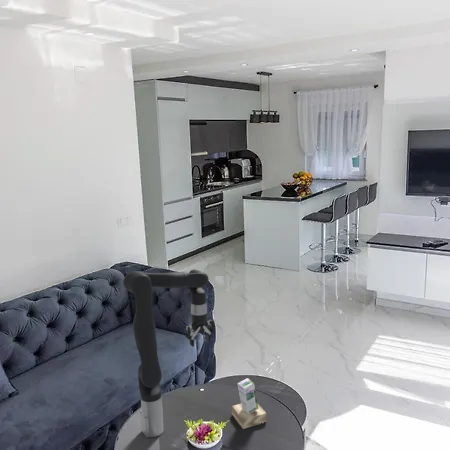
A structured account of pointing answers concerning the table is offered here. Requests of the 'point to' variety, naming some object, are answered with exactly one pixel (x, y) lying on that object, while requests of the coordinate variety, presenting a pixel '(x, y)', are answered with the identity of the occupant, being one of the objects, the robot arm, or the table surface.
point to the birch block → (248, 416)
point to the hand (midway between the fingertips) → (200, 343)
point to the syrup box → (247, 396)
